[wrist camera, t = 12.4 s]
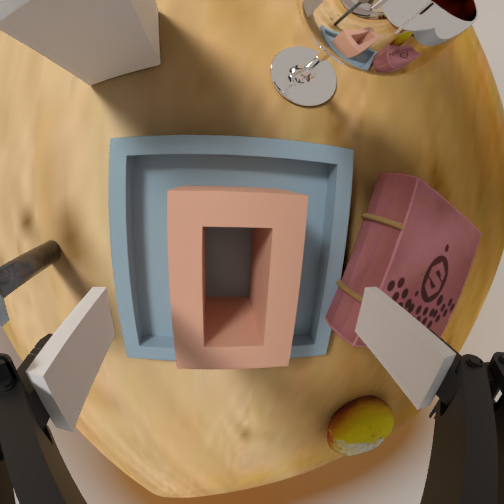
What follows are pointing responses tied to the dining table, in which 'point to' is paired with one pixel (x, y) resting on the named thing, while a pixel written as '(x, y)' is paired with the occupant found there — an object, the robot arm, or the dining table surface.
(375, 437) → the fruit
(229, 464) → the dining table surface
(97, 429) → the dining table surface
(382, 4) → the wineglass
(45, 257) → the grey t-shaped piece
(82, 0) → the milk carton
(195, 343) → the pink window frame
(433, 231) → the book
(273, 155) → the tray
